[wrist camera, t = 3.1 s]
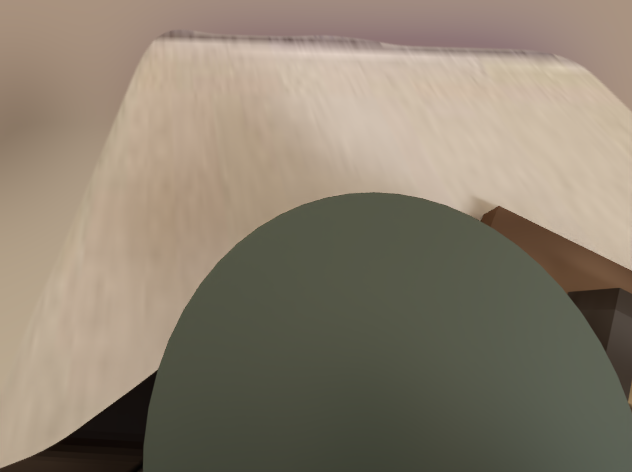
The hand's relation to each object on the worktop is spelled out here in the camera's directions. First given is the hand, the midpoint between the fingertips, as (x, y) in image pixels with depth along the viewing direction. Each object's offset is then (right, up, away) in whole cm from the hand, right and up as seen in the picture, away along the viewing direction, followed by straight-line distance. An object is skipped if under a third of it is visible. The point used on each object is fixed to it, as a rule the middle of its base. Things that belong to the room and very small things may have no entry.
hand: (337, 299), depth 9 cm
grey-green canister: (0, -3, +6) cm, 7 cm away
